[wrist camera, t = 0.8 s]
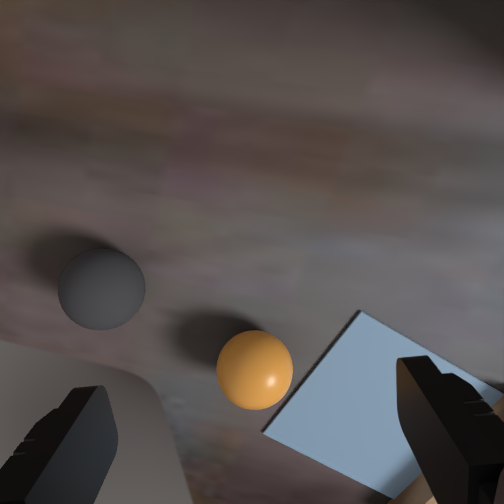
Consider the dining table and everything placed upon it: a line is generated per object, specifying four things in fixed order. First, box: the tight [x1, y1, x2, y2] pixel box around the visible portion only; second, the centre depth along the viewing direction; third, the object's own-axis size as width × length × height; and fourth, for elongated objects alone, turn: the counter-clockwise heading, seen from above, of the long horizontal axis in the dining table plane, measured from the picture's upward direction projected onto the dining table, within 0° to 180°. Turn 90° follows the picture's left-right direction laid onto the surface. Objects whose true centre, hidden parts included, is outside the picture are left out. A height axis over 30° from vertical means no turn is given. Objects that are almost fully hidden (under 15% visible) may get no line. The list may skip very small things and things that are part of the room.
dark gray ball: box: [58, 249, 145, 330], centre depth 26 cm, size 6×6×6 cm
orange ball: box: [216, 330, 293, 410], centre depth 28 cm, size 6×6×6 cm
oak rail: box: [387, 392, 504, 504], centre depth 32 cm, size 16×2×2 cm, turn 149°
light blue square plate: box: [263, 311, 504, 499], centre depth 32 cm, size 14×14×1 cm
